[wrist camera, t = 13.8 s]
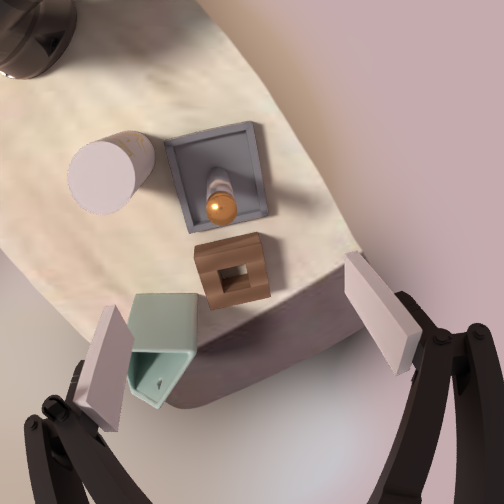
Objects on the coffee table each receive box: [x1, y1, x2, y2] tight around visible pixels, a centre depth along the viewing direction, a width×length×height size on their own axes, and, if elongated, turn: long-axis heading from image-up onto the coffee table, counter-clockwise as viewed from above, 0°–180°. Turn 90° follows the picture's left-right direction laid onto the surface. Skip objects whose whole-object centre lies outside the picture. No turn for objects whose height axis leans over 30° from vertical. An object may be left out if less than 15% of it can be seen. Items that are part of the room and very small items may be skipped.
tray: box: [164, 121, 269, 234], centre depth 40 cm, size 14×12×2 cm
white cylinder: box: [68, 131, 155, 215], centre depth 32 cm, size 8×8×12 cm
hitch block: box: [194, 232, 271, 310], centre depth 46 cm, size 10×10×4 cm
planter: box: [127, 293, 198, 409], centre depth 41 cm, size 16×8×20 cm, turn 130°
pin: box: [206, 167, 237, 226], centre depth 34 cm, size 3×3×14 cm
